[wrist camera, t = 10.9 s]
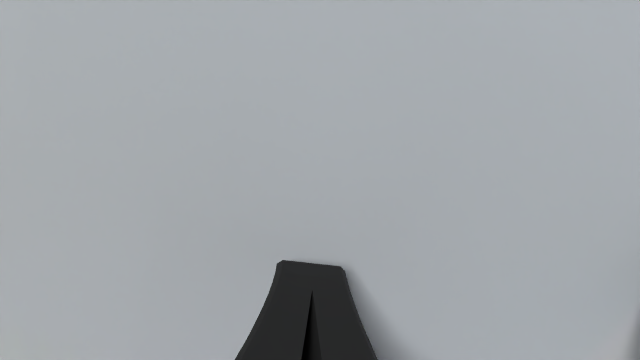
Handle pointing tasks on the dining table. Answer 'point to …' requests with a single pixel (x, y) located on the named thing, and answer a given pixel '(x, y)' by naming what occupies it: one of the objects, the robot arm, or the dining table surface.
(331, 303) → the robot arm
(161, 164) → the dining table surface
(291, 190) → the dining table surface
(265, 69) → the dining table surface
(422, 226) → the dining table surface
